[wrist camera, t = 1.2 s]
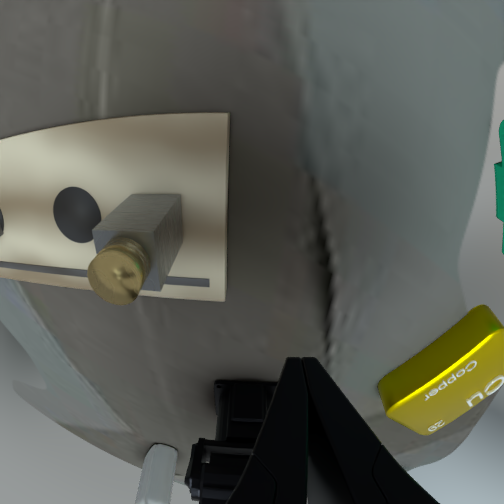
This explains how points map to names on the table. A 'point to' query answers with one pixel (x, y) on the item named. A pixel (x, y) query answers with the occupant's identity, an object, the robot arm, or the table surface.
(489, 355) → the element tile
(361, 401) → the table surface
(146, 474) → the photo printer
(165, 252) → the sliding leg
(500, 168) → the camera mount
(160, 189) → the bolt plate
